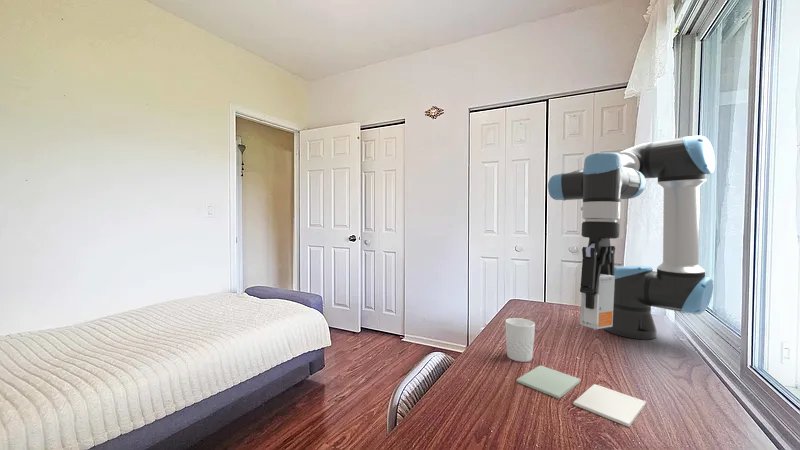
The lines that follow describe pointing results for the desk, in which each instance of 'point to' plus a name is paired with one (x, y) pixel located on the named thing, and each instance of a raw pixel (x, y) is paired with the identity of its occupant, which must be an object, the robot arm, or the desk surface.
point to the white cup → (520, 339)
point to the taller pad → (610, 404)
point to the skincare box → (602, 303)
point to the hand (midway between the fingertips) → (597, 319)
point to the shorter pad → (549, 381)
